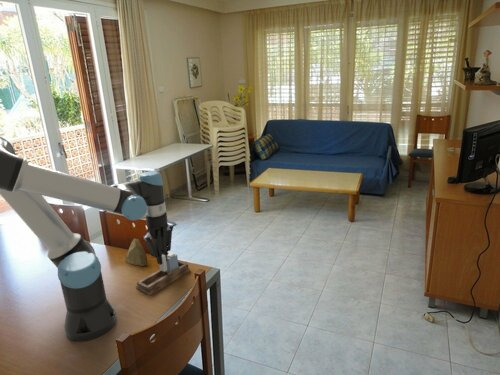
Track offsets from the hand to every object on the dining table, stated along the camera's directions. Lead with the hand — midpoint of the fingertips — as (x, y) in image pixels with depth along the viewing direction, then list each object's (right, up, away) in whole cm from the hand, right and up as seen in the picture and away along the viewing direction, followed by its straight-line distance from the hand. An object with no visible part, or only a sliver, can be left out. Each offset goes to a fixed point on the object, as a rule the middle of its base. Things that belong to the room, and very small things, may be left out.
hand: (163, 270), depth 140 cm
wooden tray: (0, -4, +1) cm, 4 cm away
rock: (-15, 0, +14) cm, 21 cm away
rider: (+3, -1, +4) cm, 5 cm away
